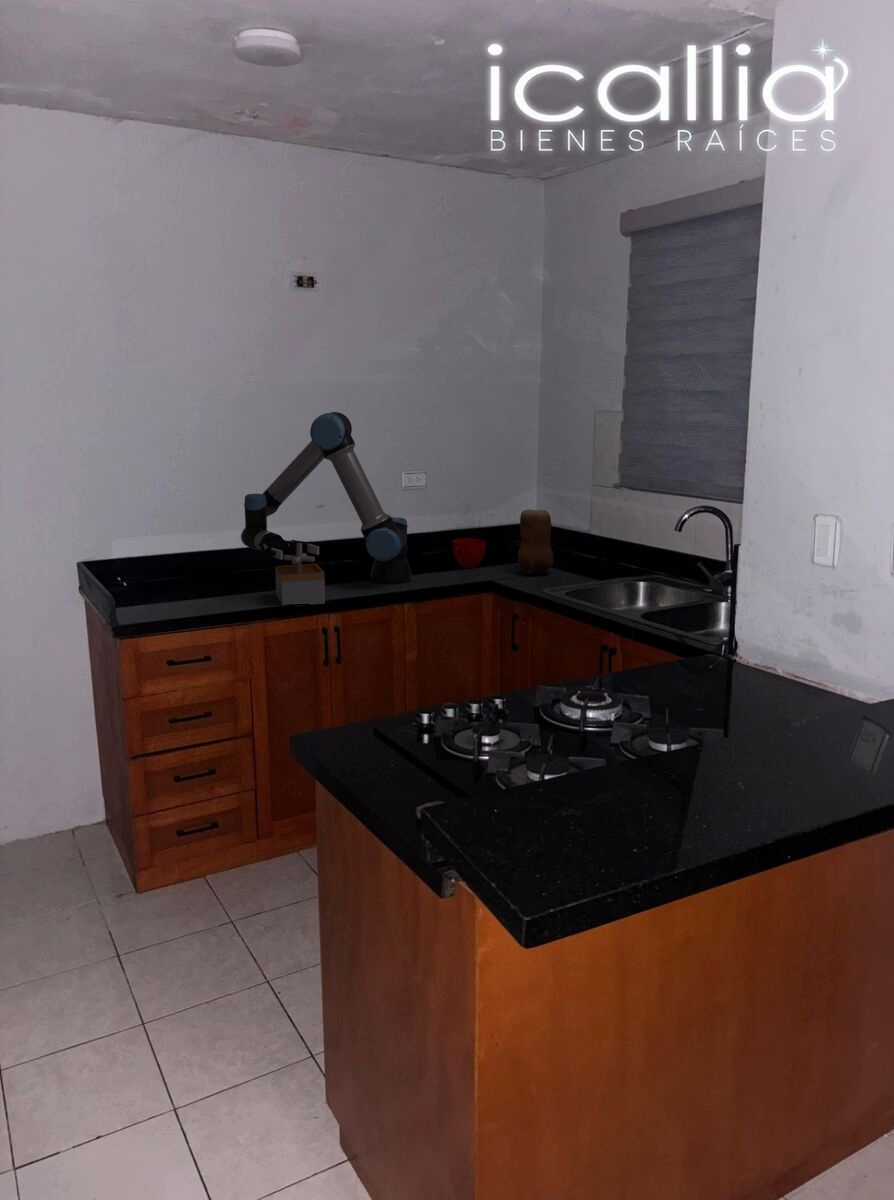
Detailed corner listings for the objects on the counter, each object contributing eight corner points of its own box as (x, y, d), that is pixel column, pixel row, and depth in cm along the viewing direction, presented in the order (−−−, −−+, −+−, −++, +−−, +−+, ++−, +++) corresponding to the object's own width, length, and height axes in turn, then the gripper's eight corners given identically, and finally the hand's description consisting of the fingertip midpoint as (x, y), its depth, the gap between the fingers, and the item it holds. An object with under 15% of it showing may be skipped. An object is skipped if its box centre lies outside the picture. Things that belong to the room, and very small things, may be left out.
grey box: (317, 593, 322) (316, 563, 319) (324, 603, 309) (324, 572, 306) (276, 596, 318) (275, 565, 315) (282, 606, 305) (281, 574, 302)
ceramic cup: (440, 568, 364) (441, 543, 362) (462, 561, 378) (463, 537, 376) (469, 572, 358) (469, 547, 355) (491, 565, 372) (491, 540, 369)
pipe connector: (309, 577, 306) (308, 547, 303) (279, 575, 307) (279, 545, 305) (318, 571, 315) (318, 541, 313) (290, 569, 317) (289, 540, 314)
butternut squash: (532, 569, 366) (535, 505, 360) (559, 574, 357) (562, 509, 351) (509, 574, 356) (511, 508, 350) (536, 580, 347) (539, 513, 341)
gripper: (301, 549, 333) (332, 559, 317) (236, 557, 318) (266, 568, 302) (301, 528, 331) (332, 538, 315) (235, 535, 316) (265, 545, 300)
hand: (300, 553), depth 308 cm, fingers open, 13 cm apart
